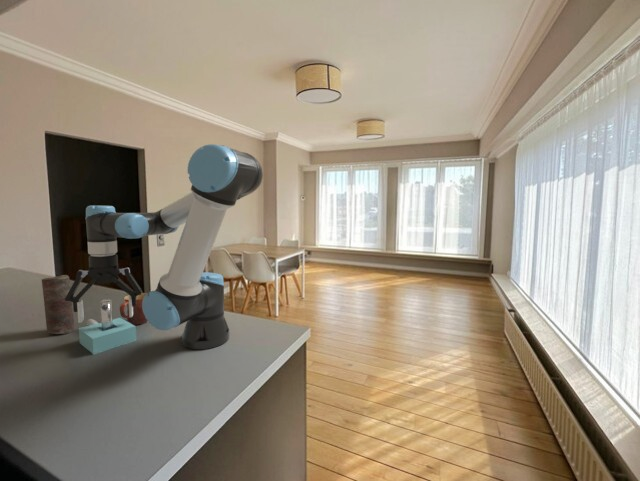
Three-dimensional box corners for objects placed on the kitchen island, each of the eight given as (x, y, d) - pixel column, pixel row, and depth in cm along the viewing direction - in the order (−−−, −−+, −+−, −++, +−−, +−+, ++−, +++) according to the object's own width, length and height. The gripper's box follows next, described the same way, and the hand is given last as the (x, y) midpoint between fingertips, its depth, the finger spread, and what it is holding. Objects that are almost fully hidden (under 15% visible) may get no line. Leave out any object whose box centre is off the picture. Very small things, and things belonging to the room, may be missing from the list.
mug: (137, 316, 120) (136, 292, 119) (156, 319, 118) (155, 294, 117) (111, 328, 108) (110, 301, 107) (132, 331, 107) (130, 303, 106)
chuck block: (136, 340, 100) (135, 326, 99) (93, 354, 90) (92, 338, 90) (109, 323, 113) (108, 311, 112) (69, 334, 103) (68, 320, 102)
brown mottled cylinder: (43, 338, 100) (38, 279, 98) (50, 329, 106) (45, 274, 104) (72, 334, 103) (67, 277, 101) (77, 326, 110) (73, 272, 108)
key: (104, 338, 100) (102, 298, 99) (115, 337, 102) (113, 297, 100) (100, 346, 95) (97, 304, 94) (111, 345, 96) (109, 303, 95)
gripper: (149, 251, 104) (151, 310, 106) (57, 254, 93) (63, 319, 96) (146, 254, 97) (149, 317, 99) (47, 258, 87) (53, 328, 89)
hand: (107, 318), depth 98 cm, fingers open, 13 cm apart
